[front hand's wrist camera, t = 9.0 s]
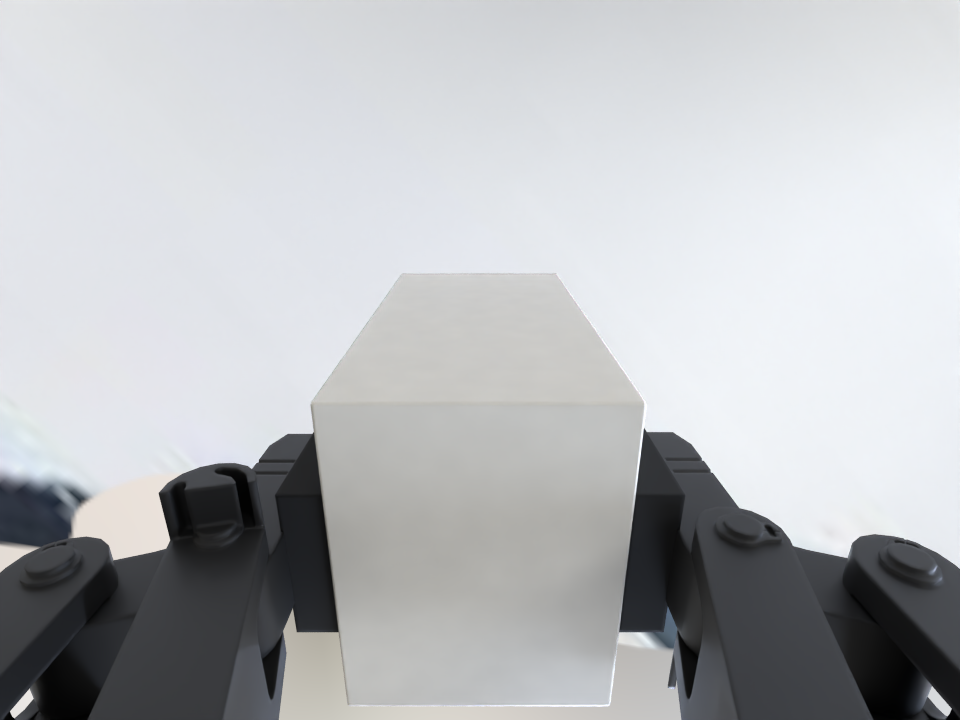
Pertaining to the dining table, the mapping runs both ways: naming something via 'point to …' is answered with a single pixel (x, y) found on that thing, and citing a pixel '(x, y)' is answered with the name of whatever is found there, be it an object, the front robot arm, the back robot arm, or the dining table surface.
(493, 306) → the white rectangular block
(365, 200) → the dining table surface
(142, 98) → the dining table surface
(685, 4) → the dining table surface
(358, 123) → the dining table surface
